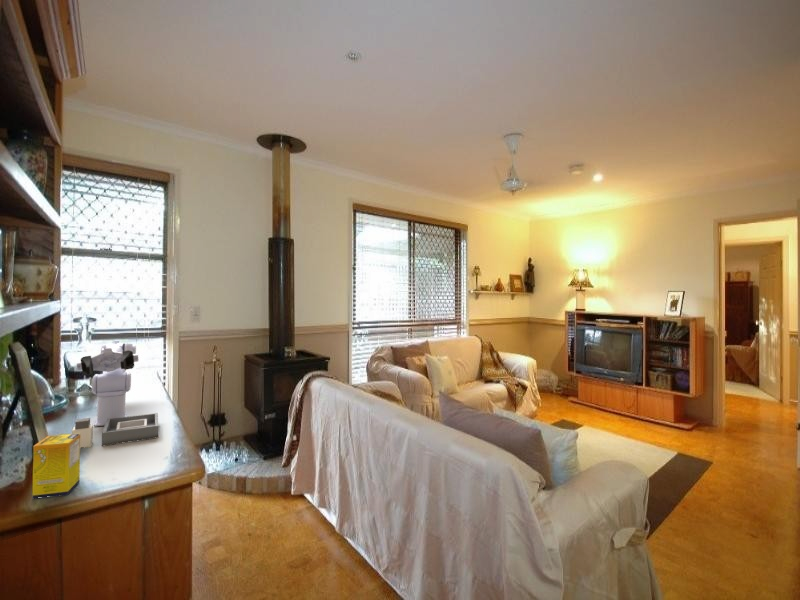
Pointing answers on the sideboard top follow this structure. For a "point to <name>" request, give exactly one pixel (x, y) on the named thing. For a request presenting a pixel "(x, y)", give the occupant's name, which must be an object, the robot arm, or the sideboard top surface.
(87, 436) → the connector
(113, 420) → the walled box
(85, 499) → the sideboard top surface
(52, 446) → the supplement box
